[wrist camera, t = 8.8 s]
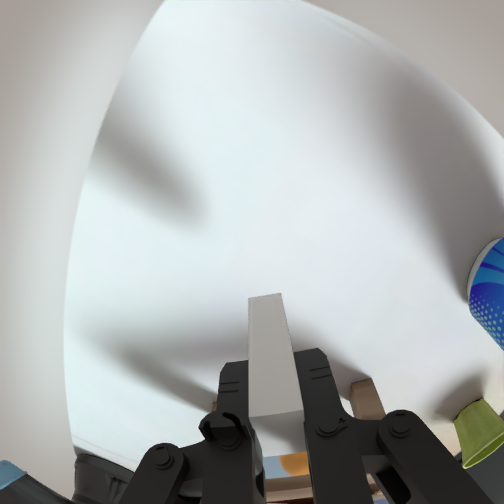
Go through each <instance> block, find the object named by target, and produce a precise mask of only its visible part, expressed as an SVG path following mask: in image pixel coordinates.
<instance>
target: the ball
mask: <svg viewBox="0 0 504 504" xmlns="http://www.w3.org/2000/svg"><path fill="white" fill-rule="evenodd" d="M279 462H280V465H281V466H282V468H283V469H284V470H285V471H286V472H287V473H288V474H289V475H291V476H299V475H306V474H310V473H309V467H308V457H307V451H305V452H299V453H293V454H286V455H279Z"/></svg>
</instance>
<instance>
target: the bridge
mask: <svg viewBox="0 0 504 504" xmlns="http://www.w3.org/2000/svg"><path fill="white" fill-rule="evenodd" d="M350 404H351V407H352V411H353V414H354V417H355V418H357V419H362V420H382V418H383V417H384V416H386V413H385V411H384V408H383V406H382V403H381V400H380V398H379V395H378V393H377V390H376V388H375V385H374V383H373V380H372V379H368V380H364V381H360V382H356V383H352V385H351V395H350ZM216 408H217V402H213V408H212V412H213V411H216ZM366 476H367V479H368V483H369V484H372V483H375V481H374V479H373V478H372V476H371V475H370V473H366ZM265 480H266V501H280V500H290V499H299V498H306V497H313V493H312V486H311V480H310V474H306V475H299V476H291V477H283V478H272V479H265Z"/></svg>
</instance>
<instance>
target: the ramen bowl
mask: <svg viewBox="0 0 504 504" xmlns="http://www.w3.org/2000/svg"><path fill="white" fill-rule="evenodd" d="M372 498H373V502H374V504H389V502H388V501H387V499H386V498H385V496H384V495H381V494H380V495H372Z"/></svg>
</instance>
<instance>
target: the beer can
mask: <svg viewBox="0 0 504 504" xmlns="http://www.w3.org/2000/svg"><path fill="white" fill-rule="evenodd" d="M467 295H468V299H469V300H468V301H469V309H470V312H471V314H472V316H473V317H474V318H475V319H476V320H477V321H478V322H479V324H480V325H481V326H482V327H483V328H484V329H485V330H486V331H487V332H488V333H489V335H490V336H491V337H492V338H493V339H494V340H495V341H496V343H497V344H498V345H499V346H500V347H501V348H502V350H503V351H504V237H503V238H499V239H496V240H493V241H492V242H490V243H489V244H488V245H487V246H486V247H485V248H484V249H483V250H482V251H481V253H480V254H479V256H478V257H477V259H476V261H475V263H474V265H473V267H472V269H471V272H470V275H469V279H468V284H467Z"/></svg>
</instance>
